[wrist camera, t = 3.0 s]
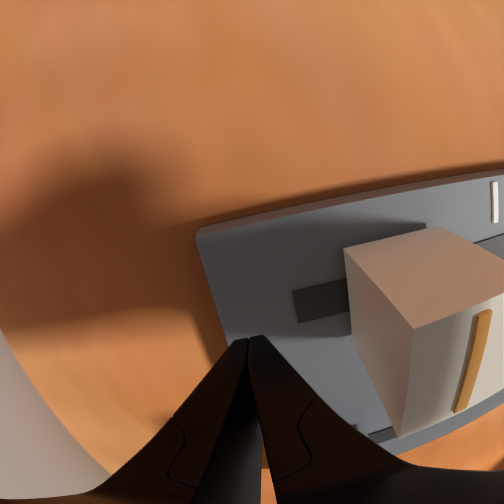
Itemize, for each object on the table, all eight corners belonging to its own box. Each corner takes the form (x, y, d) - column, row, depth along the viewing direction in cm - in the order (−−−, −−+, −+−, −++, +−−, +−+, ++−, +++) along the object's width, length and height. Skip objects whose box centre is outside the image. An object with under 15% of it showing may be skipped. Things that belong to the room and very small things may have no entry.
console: (546, 357, 14) (561, 372, 12) (279, 468, 15) (281, 497, 13) (577, 159, 9) (602, 165, 7) (200, 227, 10) (188, 247, 8)
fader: (436, 314, 10) (504, 390, 5) (352, 341, 10) (399, 441, 6) (438, 225, 9) (536, 279, 4) (343, 248, 9) (415, 332, 5)
